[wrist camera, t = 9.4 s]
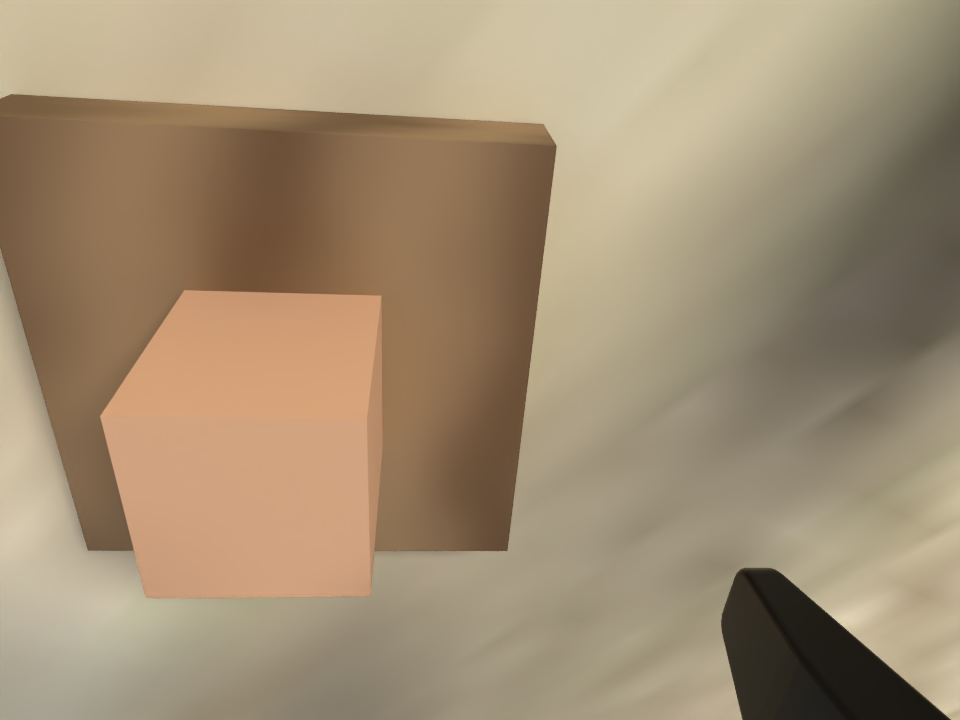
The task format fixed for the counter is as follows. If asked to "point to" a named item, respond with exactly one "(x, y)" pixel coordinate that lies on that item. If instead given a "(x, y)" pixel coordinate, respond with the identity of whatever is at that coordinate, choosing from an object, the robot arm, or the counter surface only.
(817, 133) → the counter surface
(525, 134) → the walnut base
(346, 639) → the counter surface
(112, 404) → the terracotta block
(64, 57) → the counter surface
